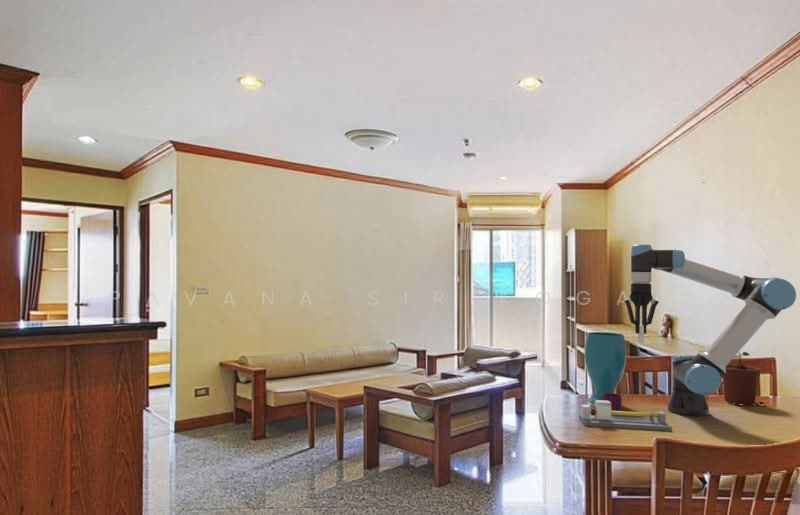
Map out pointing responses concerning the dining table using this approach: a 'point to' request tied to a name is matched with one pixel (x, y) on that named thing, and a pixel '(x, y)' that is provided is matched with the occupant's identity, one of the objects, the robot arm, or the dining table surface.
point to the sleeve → (603, 409)
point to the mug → (613, 401)
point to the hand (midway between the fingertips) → (640, 341)
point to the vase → (604, 362)
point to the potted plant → (740, 383)
